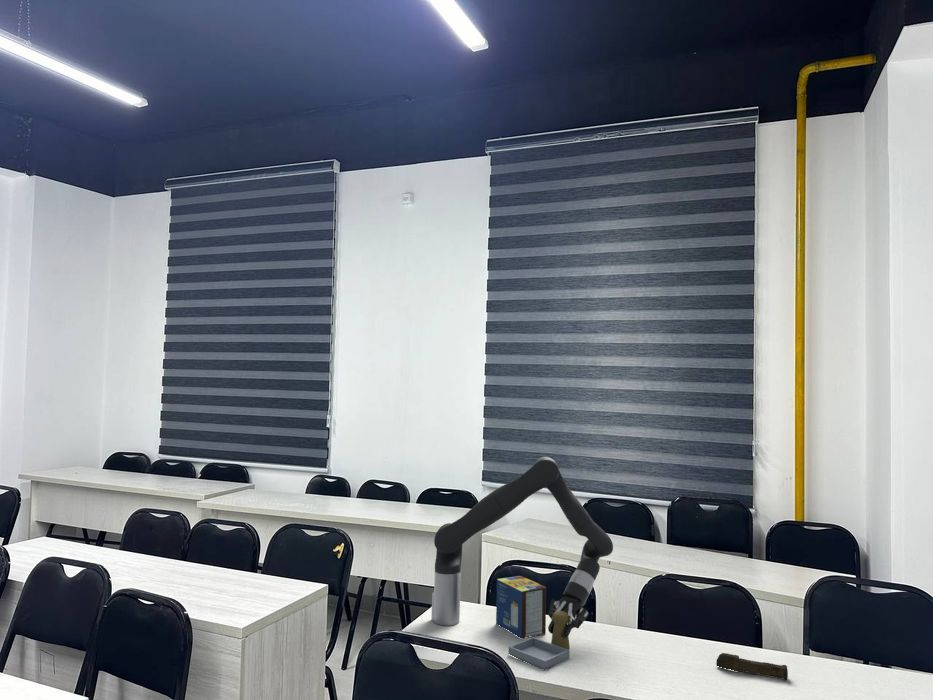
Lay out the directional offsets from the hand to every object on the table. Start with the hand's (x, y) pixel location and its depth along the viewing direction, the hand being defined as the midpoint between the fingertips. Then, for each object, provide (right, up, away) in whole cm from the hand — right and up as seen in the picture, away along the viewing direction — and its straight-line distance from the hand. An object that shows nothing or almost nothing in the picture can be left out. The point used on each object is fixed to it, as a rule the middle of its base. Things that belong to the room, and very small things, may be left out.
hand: (556, 634), depth 196 cm
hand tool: (+55, -5, -15) cm, 57 cm away
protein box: (-10, -6, +16) cm, 20 cm away
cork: (+1, -5, +1) cm, 5 cm away
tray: (-7, -4, -7) cm, 10 cm away
